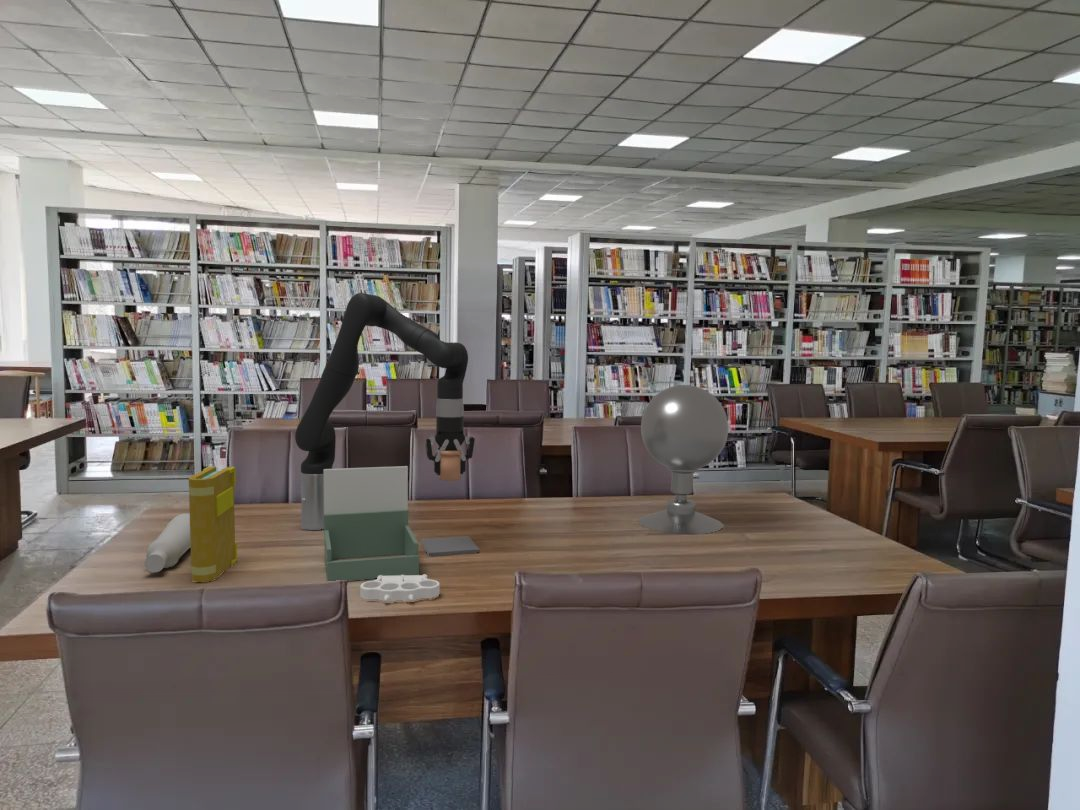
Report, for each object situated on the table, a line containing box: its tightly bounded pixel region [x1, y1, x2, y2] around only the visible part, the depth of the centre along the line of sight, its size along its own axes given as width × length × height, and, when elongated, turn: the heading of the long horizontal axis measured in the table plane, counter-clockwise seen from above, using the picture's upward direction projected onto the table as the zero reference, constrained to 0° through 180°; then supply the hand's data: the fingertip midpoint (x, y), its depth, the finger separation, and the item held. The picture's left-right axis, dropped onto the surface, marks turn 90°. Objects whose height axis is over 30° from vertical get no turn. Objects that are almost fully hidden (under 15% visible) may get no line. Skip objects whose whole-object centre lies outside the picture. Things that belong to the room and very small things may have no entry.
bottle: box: [143, 512, 191, 573], centre depth 196 cm, size 9×9×30 cm
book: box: [188, 466, 238, 583], centre depth 186 cm, size 17×7×25 cm, turn 5°
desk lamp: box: [637, 384, 729, 535], centre depth 242 cm, size 28×28×45 cm
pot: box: [438, 449, 462, 482], centre depth 209 cm, size 7×7×8 cm
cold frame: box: [323, 465, 420, 582], centre depth 192 cm, size 22×21×24 cm
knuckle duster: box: [359, 573, 441, 601], centre depth 174 cm, size 3×18×15 cm
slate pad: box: [420, 535, 480, 557], centre depth 211 cm, size 14×14×1 cm
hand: (449, 473), depth 209 cm, fingers closed on pot, 6 cm apart
